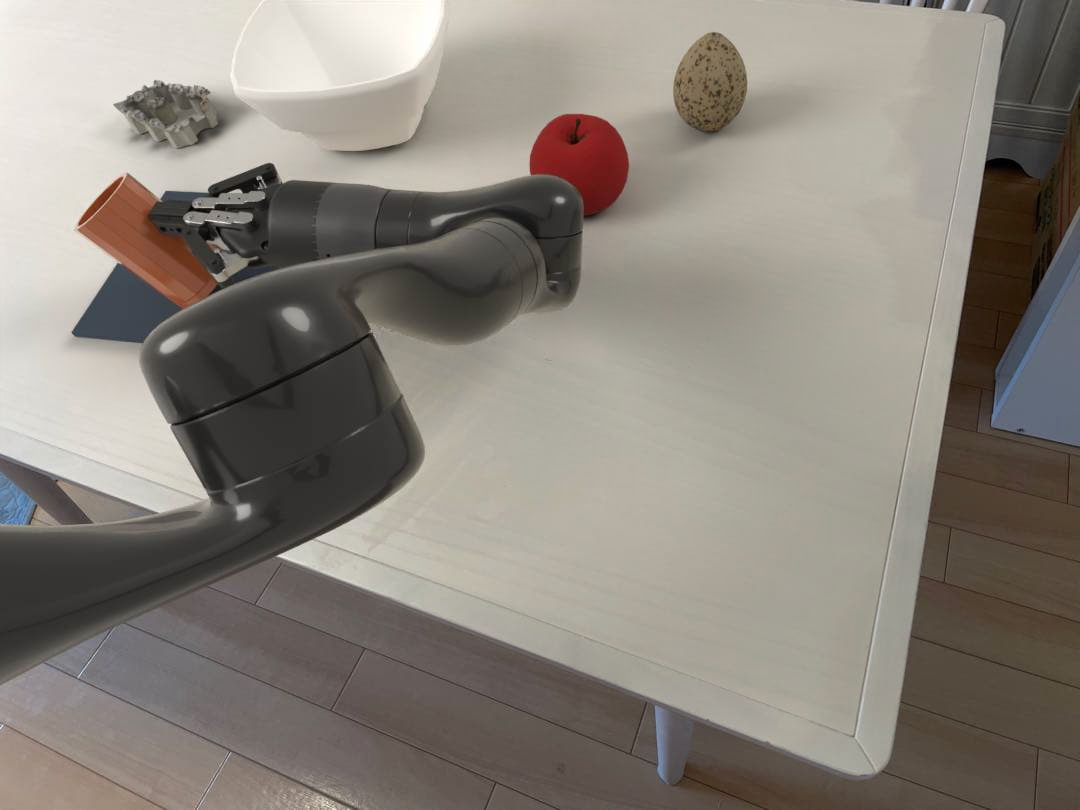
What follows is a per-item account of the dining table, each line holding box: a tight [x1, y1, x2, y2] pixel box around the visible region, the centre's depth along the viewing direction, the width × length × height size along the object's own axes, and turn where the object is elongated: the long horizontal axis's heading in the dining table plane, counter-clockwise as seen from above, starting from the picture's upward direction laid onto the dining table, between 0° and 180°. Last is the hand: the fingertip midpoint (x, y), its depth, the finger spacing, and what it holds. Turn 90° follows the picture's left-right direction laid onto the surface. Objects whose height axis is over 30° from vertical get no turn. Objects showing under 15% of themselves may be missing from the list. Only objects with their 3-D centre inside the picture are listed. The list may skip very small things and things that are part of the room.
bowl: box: [229, 0, 451, 152], centre depth 84 cm, size 22×22×12 cm
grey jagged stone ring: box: [112, 79, 219, 149], centre depth 92 cm, size 11×8×4 cm
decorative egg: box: [672, 31, 748, 132], centre depth 77 cm, size 7×7×10 cm
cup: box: [73, 172, 223, 309], centre depth 71 cm, size 7×7×11 cm
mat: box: [70, 190, 280, 344], centre depth 79 cm, size 20×18×1 cm
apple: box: [528, 113, 630, 217], centre depth 74 cm, size 9×9×10 cm
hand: (156, 216), depth 68 cm, fingers closed
